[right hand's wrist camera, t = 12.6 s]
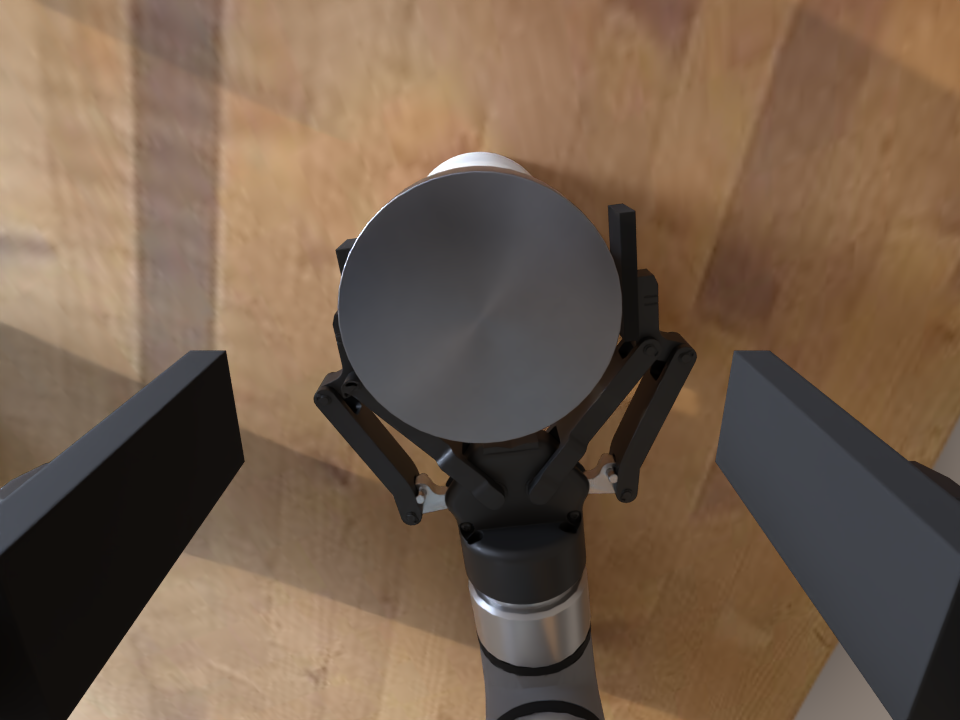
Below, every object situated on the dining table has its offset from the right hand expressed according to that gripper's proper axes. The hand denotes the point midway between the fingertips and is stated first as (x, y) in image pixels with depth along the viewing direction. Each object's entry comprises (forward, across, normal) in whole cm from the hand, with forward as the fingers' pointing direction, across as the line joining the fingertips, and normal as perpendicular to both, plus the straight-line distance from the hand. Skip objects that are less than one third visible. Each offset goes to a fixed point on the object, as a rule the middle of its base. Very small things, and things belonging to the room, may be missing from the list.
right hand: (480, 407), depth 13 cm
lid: (+7, 0, 0) cm, 7 cm away
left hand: (+18, 0, -1) cm, 18 cm away
